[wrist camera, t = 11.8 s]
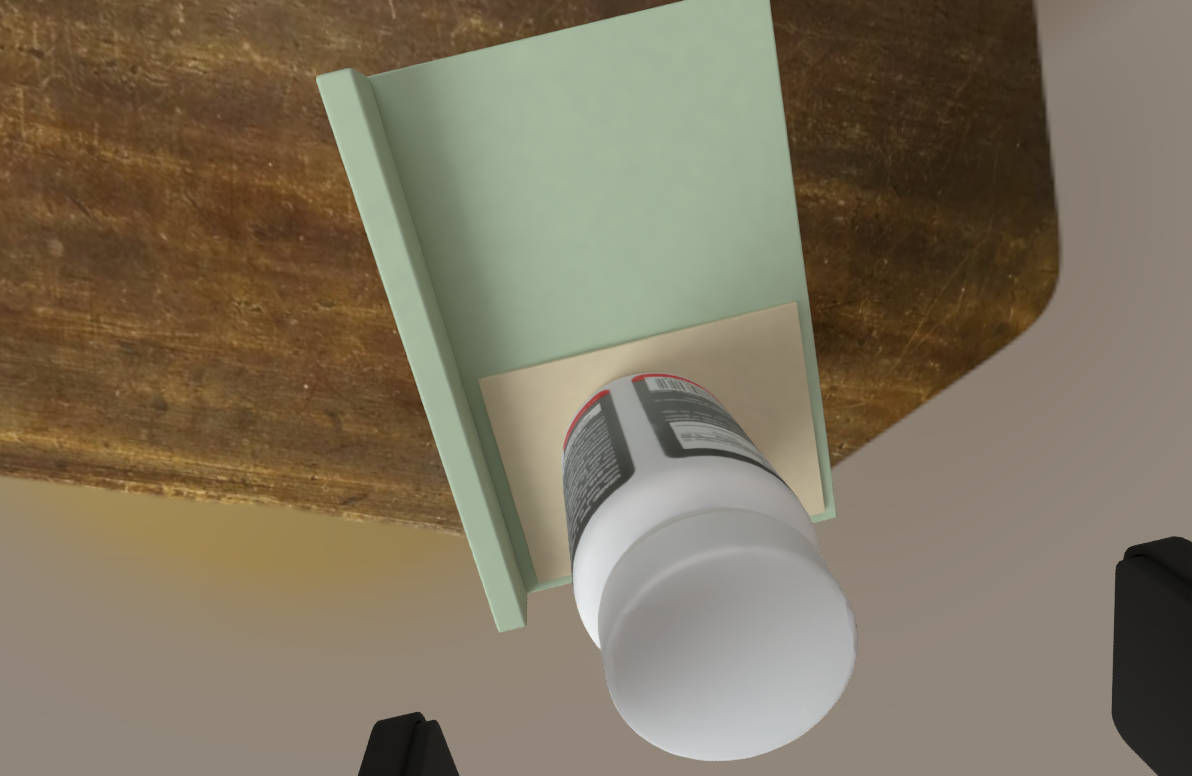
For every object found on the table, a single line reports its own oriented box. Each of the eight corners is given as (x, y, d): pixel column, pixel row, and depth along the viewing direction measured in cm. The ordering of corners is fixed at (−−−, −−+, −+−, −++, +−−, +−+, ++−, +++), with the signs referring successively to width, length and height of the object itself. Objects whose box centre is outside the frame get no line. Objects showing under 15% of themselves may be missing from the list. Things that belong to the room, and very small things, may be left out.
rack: (677, 53, 25) (791, -39, 14) (737, 400, 30) (861, 544, 18) (413, 117, 25) (313, 75, 14) (513, 455, 30) (498, 634, 18)
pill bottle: (602, 555, 19) (648, 826, 11) (531, 412, 18) (526, 608, 10) (758, 489, 19) (915, 718, 11) (699, 338, 18) (832, 480, 10)
